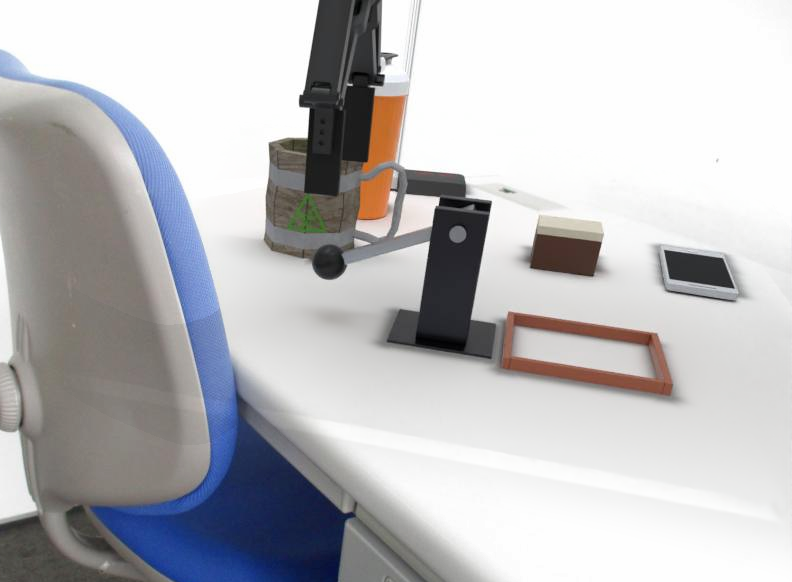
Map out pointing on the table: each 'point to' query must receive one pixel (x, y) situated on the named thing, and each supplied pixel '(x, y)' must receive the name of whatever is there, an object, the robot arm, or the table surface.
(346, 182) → the mug
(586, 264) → the cake slice
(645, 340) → the reddish-brown rectangular frame
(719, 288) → the smartphone
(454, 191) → the usb drive
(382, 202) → the shaker bottle
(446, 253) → the lever stand
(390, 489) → the table surface
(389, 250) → the lever
